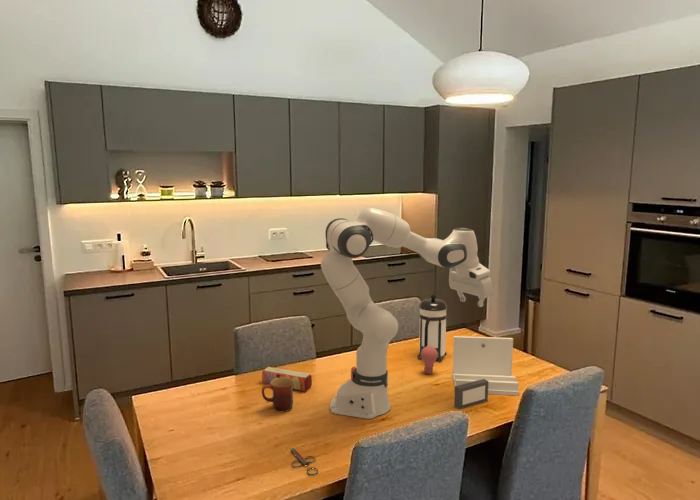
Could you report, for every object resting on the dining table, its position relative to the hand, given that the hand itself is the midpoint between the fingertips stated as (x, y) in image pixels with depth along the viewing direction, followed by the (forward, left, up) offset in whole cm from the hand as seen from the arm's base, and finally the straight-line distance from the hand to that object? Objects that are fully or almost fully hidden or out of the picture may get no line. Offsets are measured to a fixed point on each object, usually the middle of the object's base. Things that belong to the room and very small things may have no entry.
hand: (471, 303), depth 196 cm
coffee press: (-13, +35, -36) cm, 52 cm away
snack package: (-73, -2, -37) cm, 82 cm away
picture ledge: (+7, +7, -36) cm, 37 cm away
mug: (-71, -22, -36) cm, 83 cm away
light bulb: (-15, +17, -36) cm, 43 cm away
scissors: (-55, -54, -37) cm, 86 cm away
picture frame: (0, -10, -36) cm, 37 cm away
